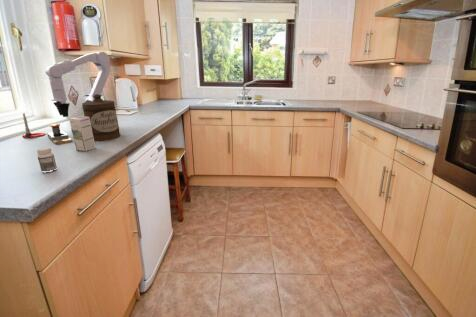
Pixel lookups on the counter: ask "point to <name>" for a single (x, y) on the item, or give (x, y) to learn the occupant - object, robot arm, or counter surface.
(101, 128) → the brown labelled jar
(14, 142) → the counter surface
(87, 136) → the syrup box
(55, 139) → the slotted panel plate
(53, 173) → the counter surface
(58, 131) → the pin
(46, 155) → the pill bottle
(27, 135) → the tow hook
